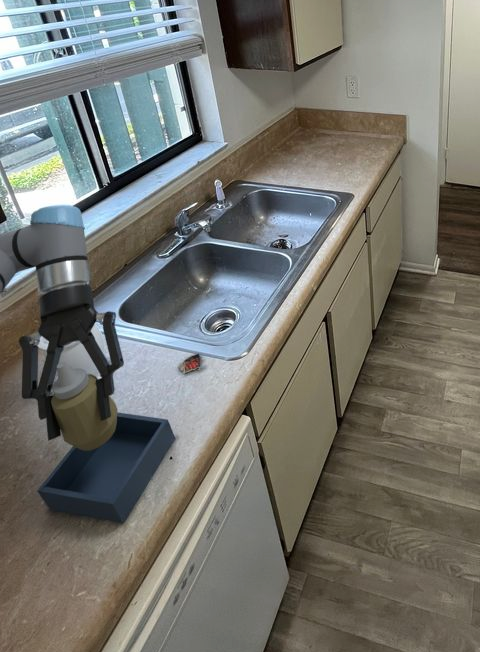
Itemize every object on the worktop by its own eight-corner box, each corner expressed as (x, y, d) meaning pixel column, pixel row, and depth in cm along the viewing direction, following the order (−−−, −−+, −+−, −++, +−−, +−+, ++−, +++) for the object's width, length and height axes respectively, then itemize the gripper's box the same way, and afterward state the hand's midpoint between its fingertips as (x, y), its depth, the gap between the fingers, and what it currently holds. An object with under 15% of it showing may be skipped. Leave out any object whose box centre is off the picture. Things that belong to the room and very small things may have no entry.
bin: (49, 510, 77) (36, 490, 75) (111, 429, 90) (101, 409, 88) (123, 523, 75) (112, 504, 73) (175, 438, 88) (168, 419, 86)
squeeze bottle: (111, 404, 83) (78, 336, 75) (132, 428, 79) (99, 359, 71) (62, 440, 77) (21, 370, 69) (81, 468, 73) (40, 397, 65)
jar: (83, 402, 96) (58, 354, 89) (50, 388, 99) (24, 341, 92) (125, 362, 105) (105, 316, 98) (93, 351, 108) (72, 306, 101)
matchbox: (198, 353, 107) (198, 351, 106) (205, 366, 103) (204, 365, 103) (178, 363, 104) (177, 362, 104) (184, 378, 100) (184, 377, 100)
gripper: (132, 275, 85) (151, 400, 79) (8, 309, 78) (19, 450, 71) (121, 270, 78) (141, 406, 72) (-15, 307, 71) (-6, 461, 65)
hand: (80, 427), depth 72 cm, fingers closed on squeeze bottle, 6 cm apart
